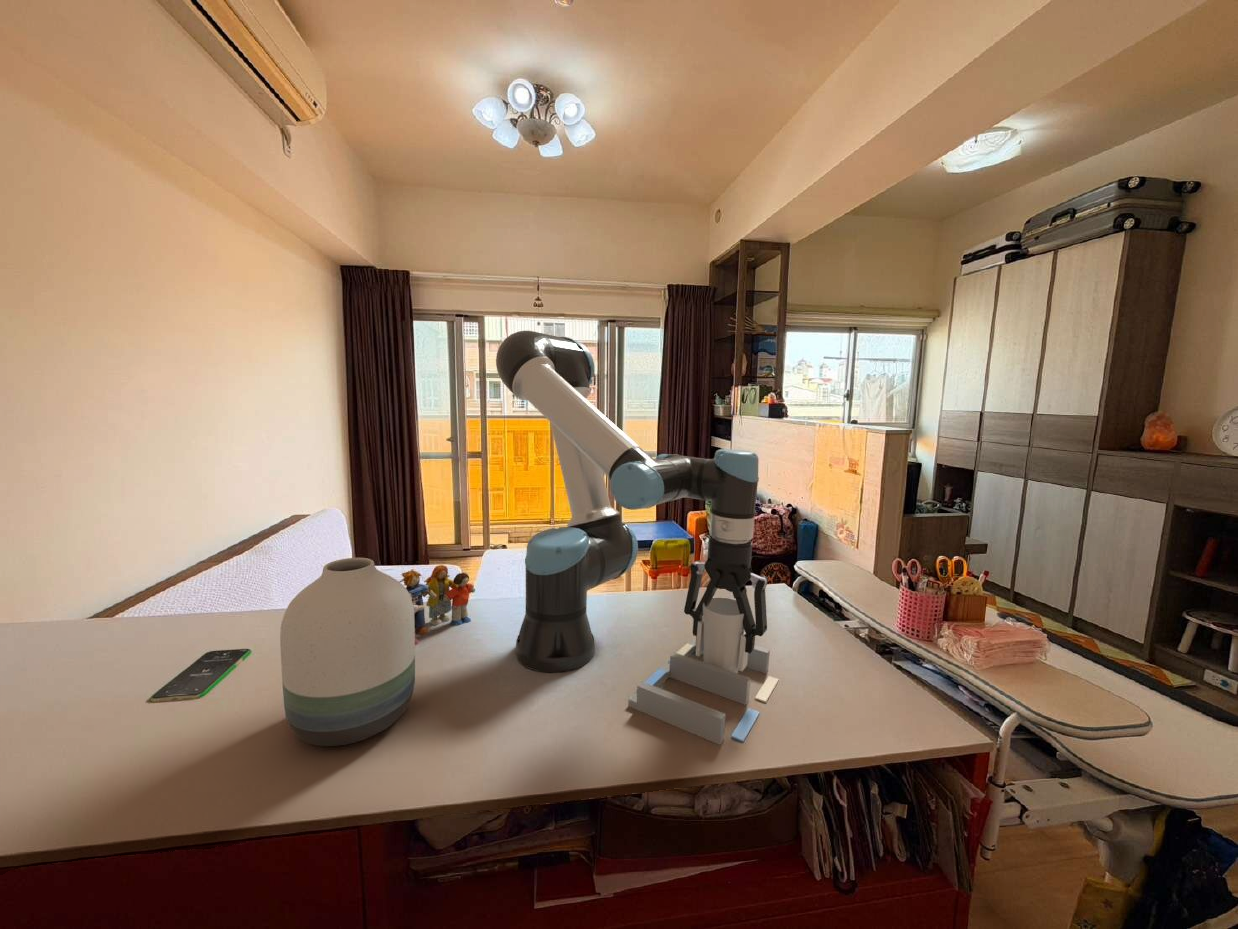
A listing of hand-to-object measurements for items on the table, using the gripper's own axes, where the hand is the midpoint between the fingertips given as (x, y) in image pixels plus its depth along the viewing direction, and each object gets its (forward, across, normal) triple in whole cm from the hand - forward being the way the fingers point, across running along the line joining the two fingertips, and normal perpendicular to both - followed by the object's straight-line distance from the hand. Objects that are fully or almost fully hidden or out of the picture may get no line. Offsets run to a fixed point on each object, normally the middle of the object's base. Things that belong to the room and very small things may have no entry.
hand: (720, 659), depth 88 cm
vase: (+3, -40, -45) cm, 60 cm away
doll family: (+4, -57, -21) cm, 61 cm away
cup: (+2, 0, 0) cm, 2 cm away
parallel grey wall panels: (+3, 0, -6) cm, 6 cm away
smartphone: (+4, -72, -53) cm, 89 cm away
